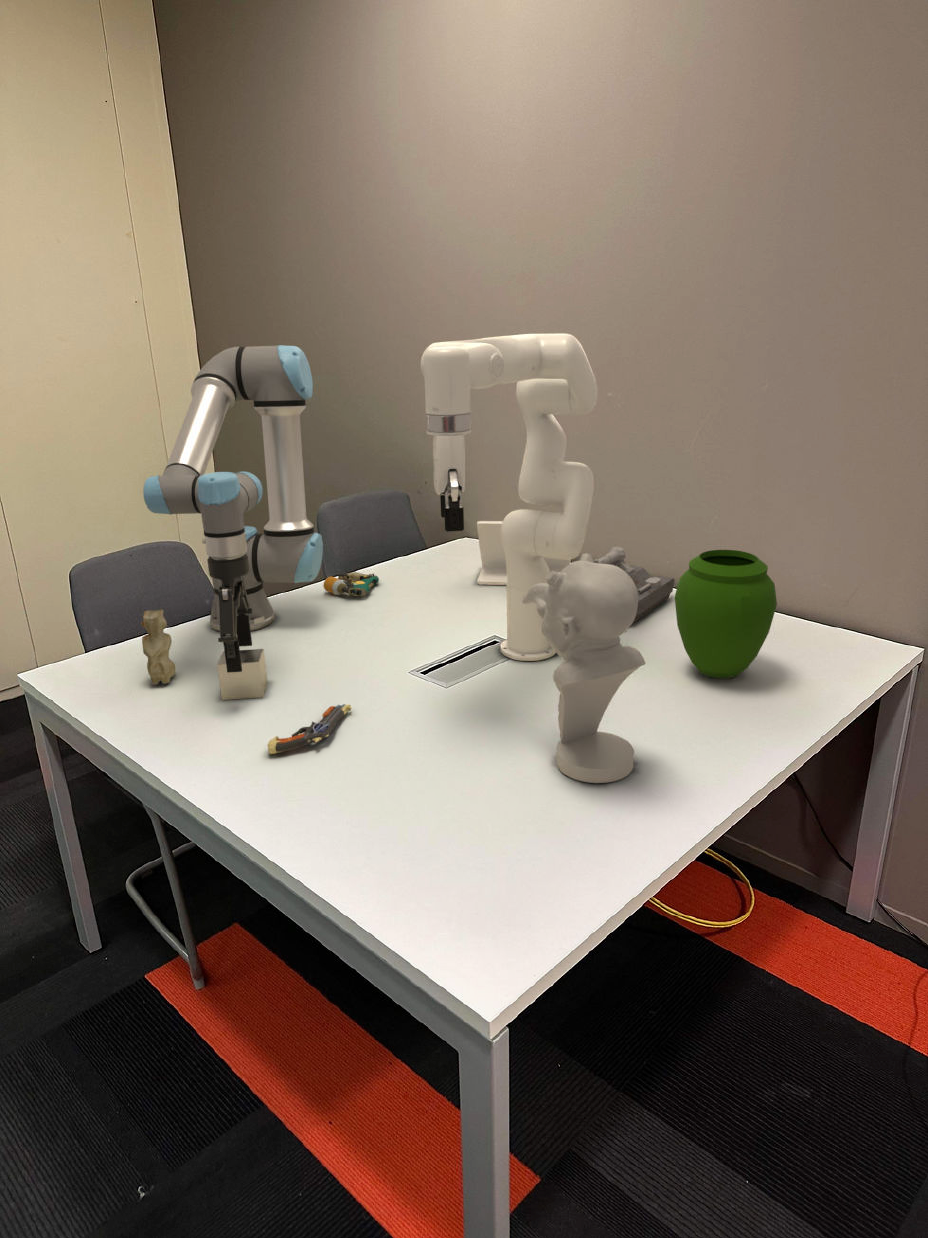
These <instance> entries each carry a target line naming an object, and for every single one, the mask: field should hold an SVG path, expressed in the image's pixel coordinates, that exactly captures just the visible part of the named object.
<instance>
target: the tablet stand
mask: <svg viewBox="0 0 928 1238" xmlns="http://www.w3.org/2000/svg"><path fill="white" fill-rule="evenodd" d="M502 522H503V520H477V522H476V531H477V537H478V544H479V551H480V557H481V558H480V559H481V570H480V573H479V575H478V577H477V580H476V581H477V582H476V584H478V585H484V586H485V585H486V586H487V585H489V586H490V585H491V586H507V573H506V558H505V551H504V546H503V542H502V536H501V527H502ZM543 558H544V559H545V561H546V563H547V565H548V567H549V570H550V572H552V571H554V572H560V573H561V571H562V570H563V569H564V568H565V567H566V566H568V565H569V564H571V563H572V562H571V560H572V559H570V560H566V559H555V558H547V557H543Z"/></svg>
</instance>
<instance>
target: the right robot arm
mask: <svg viewBox="0 0 928 1238" xmlns="http://www.w3.org/2000/svg"><path fill="white" fill-rule="evenodd" d="M587 356H588V355H587V354H586V352H585V350H584V347H583V346H582V344H581V342H580V341H579V339H577V338H576V337H575V336H574V335H573V334H570V333H525V334H524V333H523V334H514V335H513V334H512V335H502V336H492V337H491V336H489V337H483V338H476V339H475V338H474V339H466V340H465V339H464V340H452V341H441V342H432V343H431V344H429V345H428V346H427V347H426V349H425V350H424V351H423V353H422V356H421V359H420V371H421V375H422V377H423V379H424V397H425V399H424V401H425V402H424V403H425V424H426V434H427V435H429V436H432V469H433V471H432V473H433V488H434V491H435V494H437V495H438V496H439V497H440V498H439V499H440V501H439V502H440V516H441V518H442V519H444V531H446V532H462V531H464V530H465V516H464V515H465V514H464V506H463V497H462V495H463V494H464V493H465V491H466V439H465V438H466V435H470V434H471V433H472V401H471V400H472V399H471V397H472V396H471V395H472V394H471V389H475V390H478V389H479V390H483V389H488V388H489V389H490V388H491V387H493V386H496V385H508V384H513V383H516V387H515V388H516V389H515V391H516V392H515V395H516V396H515V397H516V401H517V404H518V407H519V410H520V413H521V416H522V419H523V422H524V426H525V430H526V442H525V448H524V452H523V458H522V463H521V468H520V473H519V478H518V486H517V490H518V491H517V492H518V496H519V499H520V500H521V501H523V502H524V503H527V504H529V505H532V506H533V505H534V506H542V507H551V508H552V507H553V508H562V509H563V512H557V511H547V510H540V509H530V508H529V509H528V508H521V509H515V510H512V511H510V512H509V513H508V514H506V515H505V517H504V518H503V520H502V521H503V522H502V527H501V536H502V542H503V546H504V551H505V558H506V573H507V585H506V639H505V640H503V641H502V642H501V643H500V646H499V647H500V653H501V654H502V655H503V656H504V657H506V658H508V659H512V660H514V661H515V660H516V661H522V662H535V661H536V662H537V661H543V660H547V659H550V658H552V657H554V656H555V655H556V654H557V653H556V652H555V651H554V650H553V649H552V648H551V646H550V644H549V643H548V642H547V640H546V637H545V636H544V634H543V633H542V623H543V621H544V619H543V618H541V617H540V615H539V614H538V612H537V604H536V603H535V602H533V603H528V604H523V602H522V601H523V599H524V597H525V596H526V595H527V593H528V591H529V590H530V588H531V587H533V586H534V585H536V584H539V583H547V576H548V574H549V573H550V570H549V567H548V565H547V563H546V561H545V559H544V558H543V557H547V558H555V559H566V560H570V559H571V560H574V559H576V558H577V557H578V556H580V554H581V552H582V550H583V547H584V544H585V539H586V535H587V531H588V525H589V519H590V515H591V514H590V513H591V509H592V504H593V498H594V494H595V493H594V492H595V478H594V473H593V471H592V469H591V467H589V466H588V465H587V464H585V463H582V462H577V461H565V456H566V451H567V444H568V440H567V435H566V433H565V430H564V429H563V427H562V426H561V424H560V423H559V421H558V420H557V419H556V417H555V416H554V415H557V416H558V415H559V416H561V415H562V416H585V415H588V414H590V413H591V412H592V411H593V410H594V409H595V408H596V405H597V402H598V399H599V398H598V397H599V389H598V383H597V380H596V377H595V373H594V372H593V369H592V367H591V364H590V361H589V359H588V357H587Z"/></svg>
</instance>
